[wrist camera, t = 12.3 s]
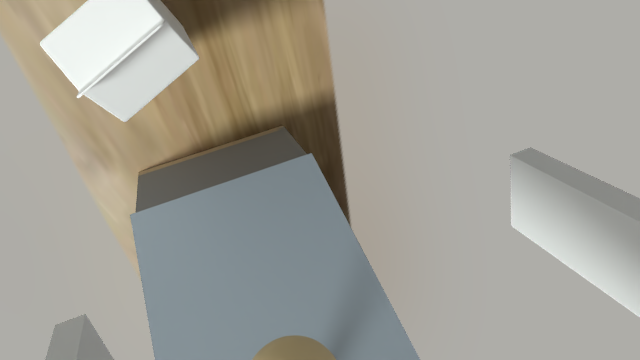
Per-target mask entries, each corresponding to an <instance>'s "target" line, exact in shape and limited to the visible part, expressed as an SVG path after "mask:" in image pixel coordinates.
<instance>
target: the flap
mask: <svg viewBox="0 0 640 360" xmlns="http://www.w3.org/2000/svg"><path fill="white" fill-rule="evenodd" d="M130 217H131V223H132V229H133V234H134V240H135V246H136V252H137V258H138V263H139V269H140V275H141V281H142V287H143V292H144V298H145V304H146V310H147V316H148V321H149V327H150V332H151V338H152V345H153V350H154V356H155V360H420V359H419V357H418V355H417V353H416V351H415V349H414V347H413V346H412V344H411V341H410V340H409V338H408V336H407V334H406V332H405V330H404V328H403V326H402V324H401V322H400V320H399V319H398V317H397V315H396V313H395V311H394V309H393V307H392V305H391V303H390V301H389V299H388V298H387V296H386V294H385V292H384V290H383V288H382V286H381V284H380V282H379V281H378V279H377V277H376V275H375V273H374V271H373V269H372V267H371V265H370V263H369V261H368V259H367V258H366V256H365V254H364V252H363V250H362V248H361V246H360V244H359V242H358V241H357V239H356V237H355V235H354V233H353V231H352V229H351V227H350V225H349V223H348V221H347V219H346V217H345V216H344V214H343V212H342V210H341V208H340V206H339V204H338V202H337V200H336V198H335V197H334V195H333V193H332V191H331V189H330V187H329V185H328V183H327V181H326V179H325V177H324V176H323V174H322V172H321V170H320V168H319V166H318V164H317V162H316V160H315V158H314V156H313V155H312V153H310V154H307V155H304V156H301V157H298V158H295V159H292V160H289V161H286V162H284V163H281V164H278V165H275V166H272V167H269V168H266V169H263V170H260V171H257V172H254V173H251V174H248V175H245V176H242V177H239V178H237V179H234V180H231V181H228V182H225V183H222V184H219V185H216V186H213V187H210V188H207V189H204V190H201V191H198V192H195V193H192V194H190V195H187V196H184V197H181V198H178V199H175V200H172V201H169V202H166V203H163V204H160V205H157V206H154V207H151V208H148V209H145V210H143V211H140V212H137V213H134V214H131V215H130Z"/></svg>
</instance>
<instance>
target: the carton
mask: <svg viewBox="0 0 640 360" xmlns="http://www.w3.org/2000/svg"><path fill="white" fill-rule="evenodd" d="M304 155H307V154H306V152H305V151H304V150H303V149H302V148H301V146H300V145H299V144H298V143H297V142H296V140H295V139H294V138H293V137H292V136H291V134H290V133H289V132H288V131H287V130H286V128H285V127H284V126H280V127H276V128H273V129H270V130H267V131H264V132H261V133H258V134H255V135H252V136H249V137H246V138H243V139H239V140H236V141H233V142H230V143H227V144H224V145H221V146H218V147H215V148H212V149H209V150H206V151H202V152H199V153H196V154H193V155H190V156H187V157H184V158H181V159H178V160H175V161H172V162H169V163H165V164H162V165H159V166H156V167H153V168H150V169H147V170H144V171H141V172H139V175H138V188H137V201H136V213H137V212H140V211H143V210H145V209H148V208H151V207H154V206H157V205H160V204H163V203H166V202H169V201H172V200H175V199H178V198H181V197H184V196H187V195H190V194H192V193H195V192H198V191H201V190H204V189H207V188H210V187H213V186H216V185H219V184H222V183H225V182H228V181H231V180H234V179H237V178H239V177H242V176H245V175H248V174H251V173H254V172H257V171H260V170H263V169H266V168H269V167H272V166H275V165H278V164H281V163H284V162H286V161H289V160H292V159H295V158H298V157H301V156H304Z"/></svg>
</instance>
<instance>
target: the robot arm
mask: <svg viewBox="0 0 640 360" xmlns="http://www.w3.org/2000/svg"><path fill="white" fill-rule="evenodd" d="M510 175H511V176H510V177H511V226H512V227H514V228H515V229H516V230H518V231H520V232H521V233H522V234H523V235H525V236H526V237H528V238H529V239H530V240H532V241H533V242H535V243H536V244H537V245H539V246H540V247H542V248H543V249H544V250H546V251H547V252H549V253H550V254H552V255H553V256H554V257H556V258H557V259H558V260H560V261H561V262H563V263H564V264H565V265H567V266H568V267H570V268H571V269H573V270H574V271H575V272H577V273H578V274H580V275H581V276H582V277H584V278H585V279H587V280H588V281H589V282H591V283H592V284H594V285H595V286H597V287H598V288H599V289H601V290H602V291H603V292H605V293H606V294H608V295H609V296H611V297H612V298H613V299H615V300H616V301H617V302H619V303H620V304H622V305H623V306H625V307H626V308H627V309H629V310H630V311H631V312H633V313H634V314H636V315H637V316H638V317H640V199H639V198H637V197H635V196H633V195H631V194H629V193H627V192H625V191H623V190H620V189H618V188H616V187H614V186H612V185H610V184H608V183H605V182H603V181H601V180H599V179H597V178H595V177H593V176H591V175H588V174H586V173H584V172H582V171H580V170H578V169H576V168H573V167H571V166H569V165H567V164H565V163H563V162H561V161H558V160H556V159H554V158H552V157H550V156H548V155H545V154H543V153H541V152H539V151H537V150H535V149H533V148H528V149H525V150H523V151H520V152H517V153H514V154H512V155H510ZM46 360H114V359H113V357H112V356H111V355H110V352H109V351H108V349H107V348H106V346H105V344H104V343H103V341H102V340H101V338H100V337H99V335H98V333H97V332H96V330H95V328H94V327H93V325H92V324H91V322H90V320H89V319H88V318H87V316H86V314H84V315H81V316H79V317H76V318H73V319H70V320H68V321H65V322H62V323H60V324H57V325H55V328H54V331H53V335H52V338H51V342H50V346H49V349H48V353H47V356H46Z"/></svg>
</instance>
